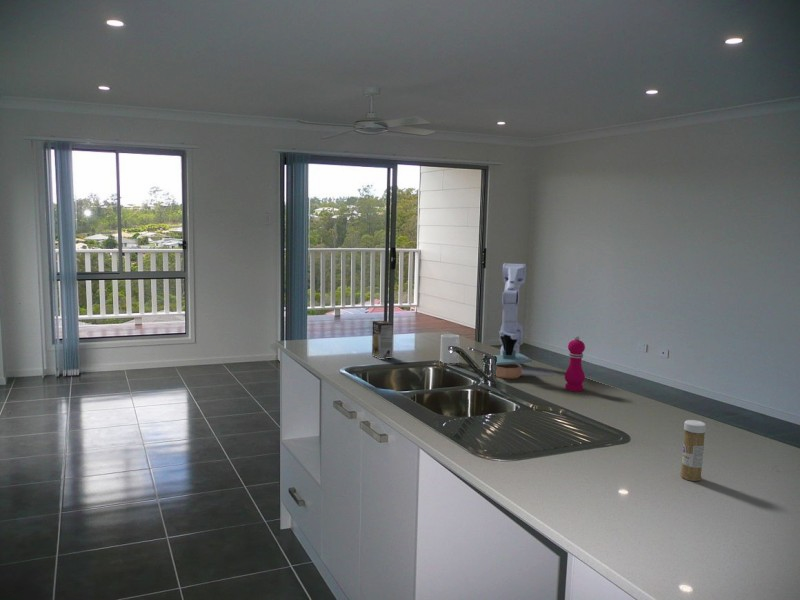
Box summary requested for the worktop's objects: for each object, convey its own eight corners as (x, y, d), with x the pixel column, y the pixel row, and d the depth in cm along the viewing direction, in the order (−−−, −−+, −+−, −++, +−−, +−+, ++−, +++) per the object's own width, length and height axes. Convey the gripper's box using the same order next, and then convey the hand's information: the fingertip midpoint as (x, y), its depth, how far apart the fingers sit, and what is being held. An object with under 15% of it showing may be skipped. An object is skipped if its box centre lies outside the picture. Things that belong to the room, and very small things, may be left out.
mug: (466, 365, 266) (467, 337, 264) (449, 366, 262) (450, 338, 261) (452, 360, 276) (453, 333, 275) (436, 361, 273) (436, 334, 271)
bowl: (490, 373, 250) (491, 362, 250) (515, 373, 252) (515, 362, 251) (498, 379, 240) (498, 368, 239) (523, 379, 241) (524, 368, 241)
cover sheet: (487, 357, 251) (486, 348, 251) (520, 355, 253) (520, 346, 253) (497, 365, 237) (496, 355, 237) (532, 362, 239) (531, 352, 239)
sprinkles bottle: (676, 474, 147) (680, 419, 146) (694, 474, 147) (698, 419, 146) (687, 482, 142) (691, 425, 141) (705, 481, 143) (710, 425, 141)
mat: (509, 368, 261) (509, 367, 261) (546, 368, 264) (546, 367, 263) (522, 377, 246) (522, 376, 246) (560, 376, 248) (560, 375, 248)
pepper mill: (582, 387, 231) (585, 334, 229) (586, 392, 224) (589, 337, 222) (562, 386, 232) (565, 333, 229) (565, 391, 224) (568, 337, 222)
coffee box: (371, 356, 281) (372, 320, 279) (384, 355, 283) (385, 320, 282) (379, 359, 273) (380, 323, 271) (392, 358, 275) (393, 323, 274)
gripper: (494, 318, 250) (493, 351, 251) (505, 323, 236) (503, 358, 237) (511, 318, 251) (509, 351, 252) (523, 323, 237) (521, 358, 238)
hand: (508, 354), depth 245 cm, fingers closed on cover sheet
